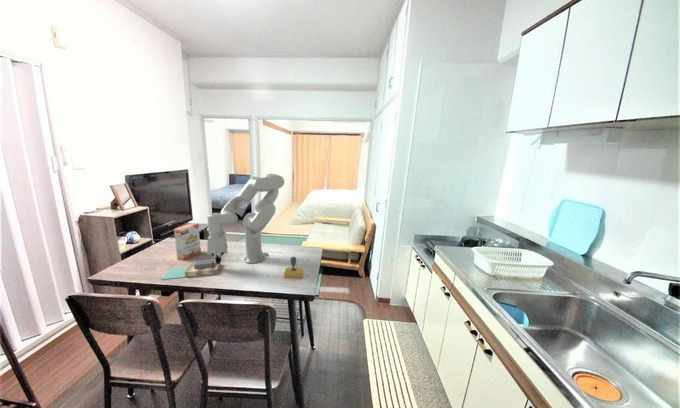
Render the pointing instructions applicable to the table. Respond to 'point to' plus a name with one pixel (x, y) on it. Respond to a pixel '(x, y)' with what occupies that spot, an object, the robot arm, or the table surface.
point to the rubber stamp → (293, 270)
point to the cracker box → (187, 241)
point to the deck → (201, 270)
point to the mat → (175, 273)
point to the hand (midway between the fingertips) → (218, 262)
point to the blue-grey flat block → (204, 263)
